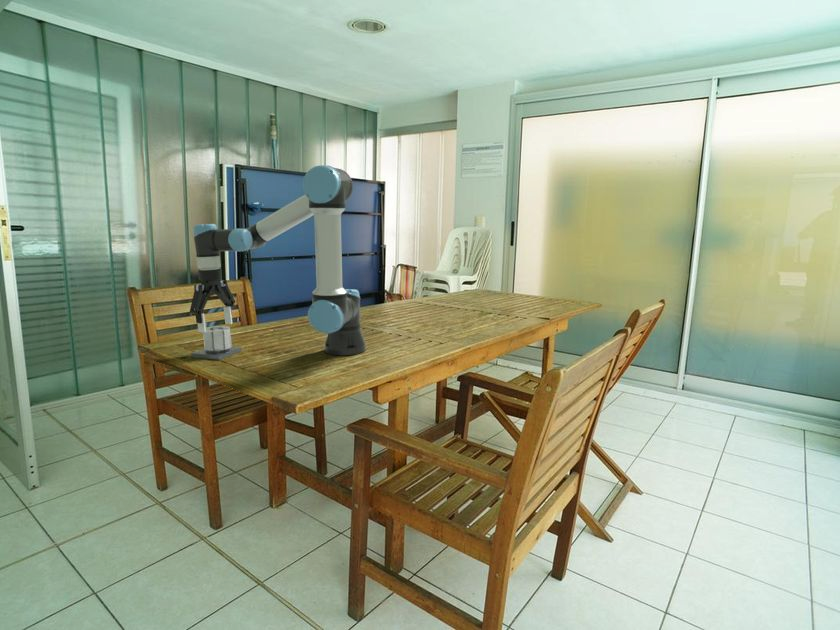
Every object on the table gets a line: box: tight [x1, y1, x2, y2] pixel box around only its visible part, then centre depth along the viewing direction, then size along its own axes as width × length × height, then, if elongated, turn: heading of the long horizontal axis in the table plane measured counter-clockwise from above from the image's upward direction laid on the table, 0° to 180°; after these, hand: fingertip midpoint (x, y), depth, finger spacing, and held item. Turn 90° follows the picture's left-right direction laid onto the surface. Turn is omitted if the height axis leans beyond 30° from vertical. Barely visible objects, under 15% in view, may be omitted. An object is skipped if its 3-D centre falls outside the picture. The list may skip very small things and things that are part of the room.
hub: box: [202, 325, 233, 351], centre depth 179 cm, size 9×9×7 cm
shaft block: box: [190, 345, 243, 361], centre depth 178 cm, size 12×12×8 cm
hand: (216, 327), depth 177 cm, fingers open, 13 cm apart
